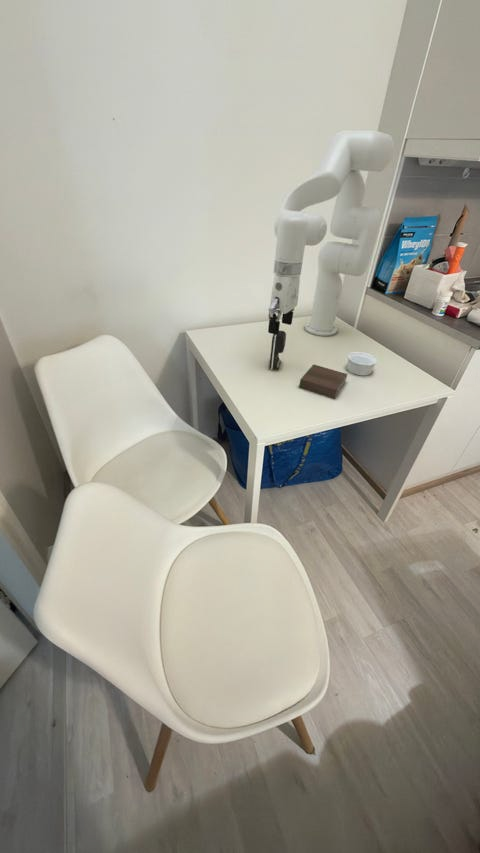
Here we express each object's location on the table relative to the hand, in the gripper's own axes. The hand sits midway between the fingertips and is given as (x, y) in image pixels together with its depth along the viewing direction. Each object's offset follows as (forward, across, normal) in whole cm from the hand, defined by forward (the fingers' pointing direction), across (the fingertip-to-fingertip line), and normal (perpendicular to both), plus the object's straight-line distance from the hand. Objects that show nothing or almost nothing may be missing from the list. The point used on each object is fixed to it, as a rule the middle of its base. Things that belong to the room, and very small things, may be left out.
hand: (280, 328), depth 104 cm
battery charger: (+13, +1, 0) cm, 13 cm away
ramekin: (+13, +14, -24) cm, 30 cm away
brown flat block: (+13, -2, -17) cm, 22 cm away
